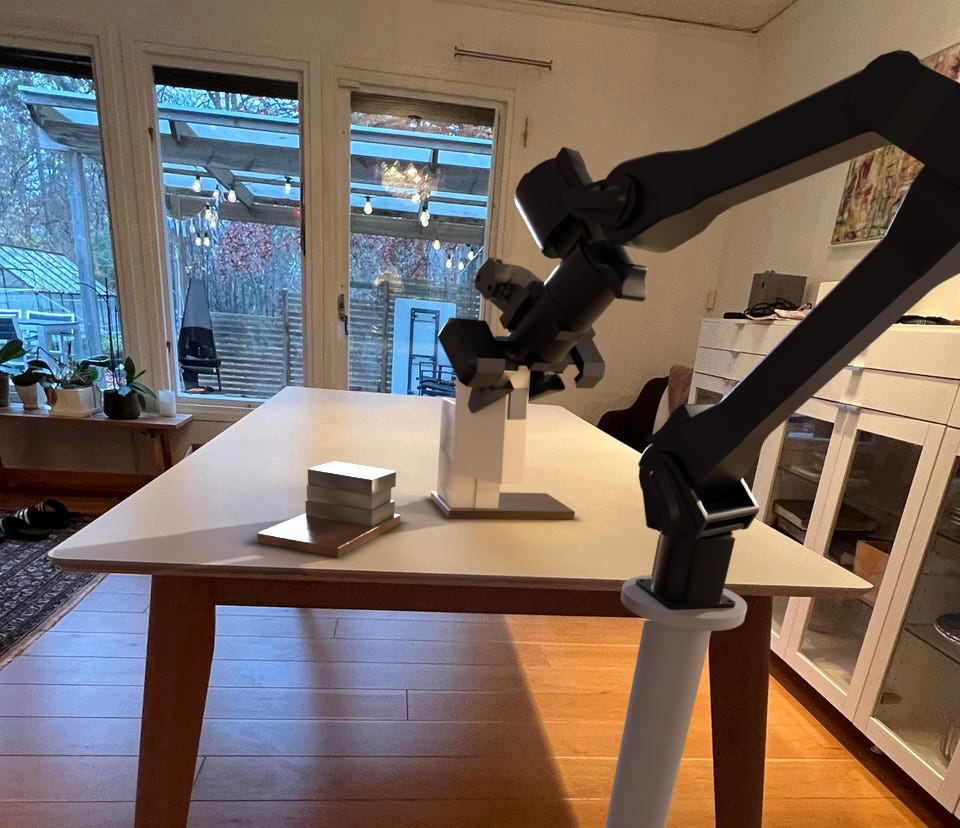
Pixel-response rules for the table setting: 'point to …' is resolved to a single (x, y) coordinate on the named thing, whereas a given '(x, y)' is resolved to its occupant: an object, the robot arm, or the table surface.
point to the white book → (492, 434)
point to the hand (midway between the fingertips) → (483, 409)
